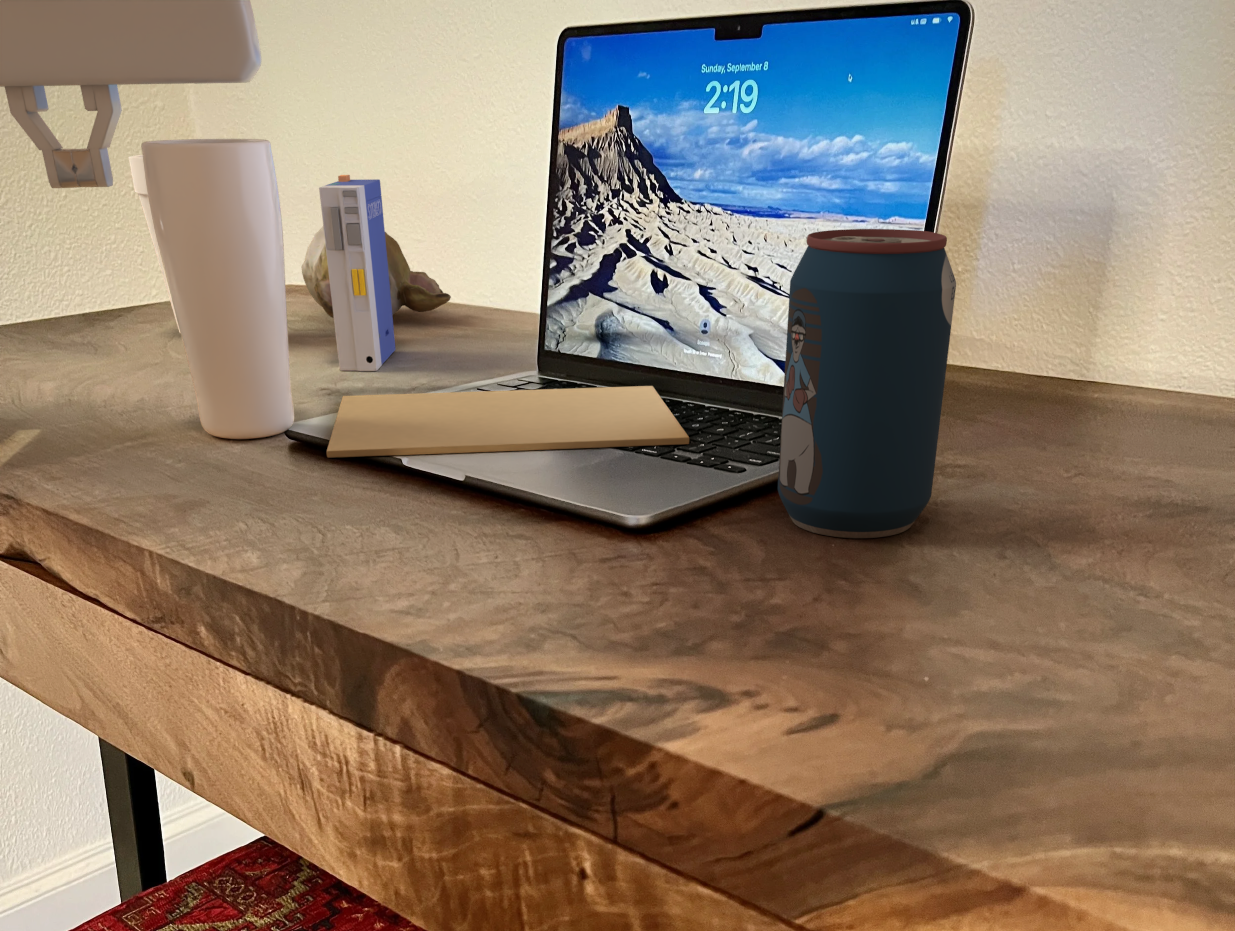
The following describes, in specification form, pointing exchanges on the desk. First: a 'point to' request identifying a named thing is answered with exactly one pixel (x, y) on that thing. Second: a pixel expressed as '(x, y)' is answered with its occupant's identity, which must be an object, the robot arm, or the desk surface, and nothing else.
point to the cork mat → (502, 421)
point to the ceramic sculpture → (404, 283)
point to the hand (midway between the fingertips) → (82, 187)
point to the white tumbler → (225, 277)
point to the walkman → (358, 272)
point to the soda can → (864, 380)
